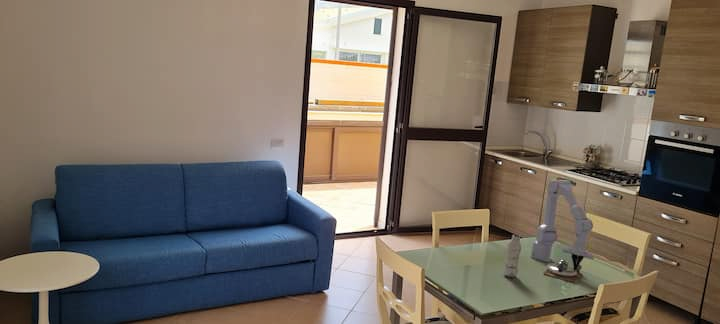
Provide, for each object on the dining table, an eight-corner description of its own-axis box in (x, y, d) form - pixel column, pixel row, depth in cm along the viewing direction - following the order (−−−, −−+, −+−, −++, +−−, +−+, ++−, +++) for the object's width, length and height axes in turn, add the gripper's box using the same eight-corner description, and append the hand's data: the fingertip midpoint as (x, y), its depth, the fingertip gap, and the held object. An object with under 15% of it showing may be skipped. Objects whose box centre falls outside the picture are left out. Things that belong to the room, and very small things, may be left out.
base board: (543, 274, 271) (545, 264, 270) (549, 265, 285) (550, 256, 284) (577, 283, 263) (579, 273, 263) (582, 274, 277) (583, 264, 276)
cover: (555, 268, 274) (557, 260, 273) (557, 265, 278) (558, 257, 278) (566, 270, 272) (567, 263, 271) (567, 268, 276) (569, 260, 275)
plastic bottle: (517, 275, 265) (524, 235, 262) (515, 280, 259) (522, 239, 256) (504, 272, 268) (510, 232, 264) (501, 276, 262) (508, 236, 258)
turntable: (544, 271, 272) (546, 260, 271) (549, 264, 284) (551, 253, 283) (574, 279, 266) (576, 268, 265) (578, 271, 278) (580, 260, 277)
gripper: (563, 241, 269) (558, 267, 272) (595, 249, 263) (589, 276, 265) (565, 238, 275) (560, 263, 278) (596, 245, 269) (591, 271, 271)
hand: (575, 269), depth 272 cm, fingers closed
